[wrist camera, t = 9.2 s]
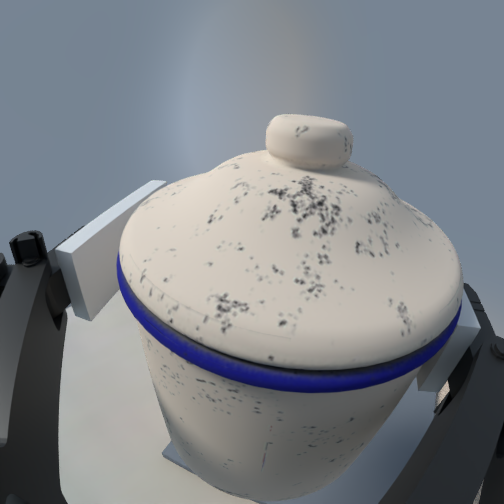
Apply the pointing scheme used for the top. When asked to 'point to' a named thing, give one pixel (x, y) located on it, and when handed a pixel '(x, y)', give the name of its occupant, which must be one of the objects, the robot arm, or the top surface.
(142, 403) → the top surface
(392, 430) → the charcoal mat
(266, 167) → the teacup with lid
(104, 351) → the top surface
